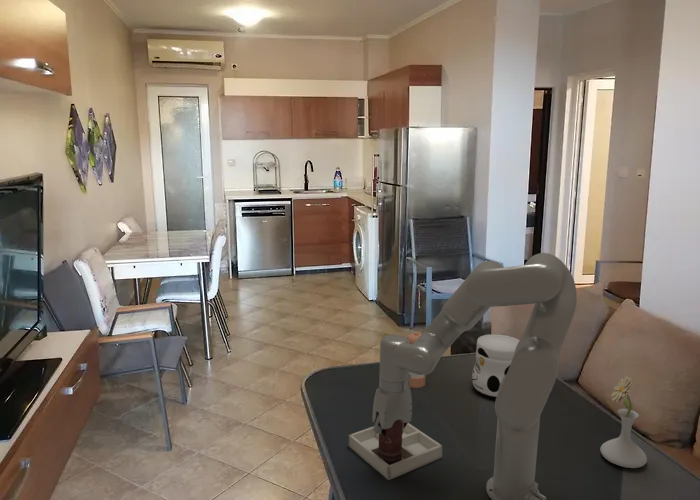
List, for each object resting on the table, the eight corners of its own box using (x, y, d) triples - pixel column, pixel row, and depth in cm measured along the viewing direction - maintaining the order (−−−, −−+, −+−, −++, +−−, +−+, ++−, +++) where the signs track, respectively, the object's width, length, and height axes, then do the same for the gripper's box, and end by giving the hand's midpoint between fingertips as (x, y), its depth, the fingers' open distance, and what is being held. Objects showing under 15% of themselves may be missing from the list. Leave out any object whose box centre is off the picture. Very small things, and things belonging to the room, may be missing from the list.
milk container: (461, 384, 191) (464, 336, 187) (502, 377, 197) (505, 330, 193) (490, 406, 175) (493, 354, 171) (533, 398, 181) (538, 347, 177)
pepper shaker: (428, 386, 189) (431, 334, 185) (410, 389, 187) (412, 337, 183) (418, 377, 196) (420, 327, 192) (401, 380, 193) (402, 330, 189)
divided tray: (442, 457, 146) (442, 445, 146) (388, 480, 136) (388, 467, 136) (399, 427, 161) (399, 417, 161) (348, 446, 151) (348, 435, 150)
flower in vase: (605, 443, 154) (615, 361, 149) (650, 458, 147) (661, 373, 142) (592, 464, 144) (602, 377, 139) (639, 481, 137) (651, 390, 132)
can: (401, 469, 139) (402, 420, 137) (376, 466, 141) (377, 417, 138) (403, 456, 145) (405, 408, 142) (380, 453, 146) (381, 406, 144)
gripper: (408, 371, 145) (406, 433, 149) (360, 385, 137) (359, 450, 141) (426, 381, 139) (424, 445, 143) (378, 396, 131) (376, 464, 134)
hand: (392, 447), depth 142 cm, fingers closed
